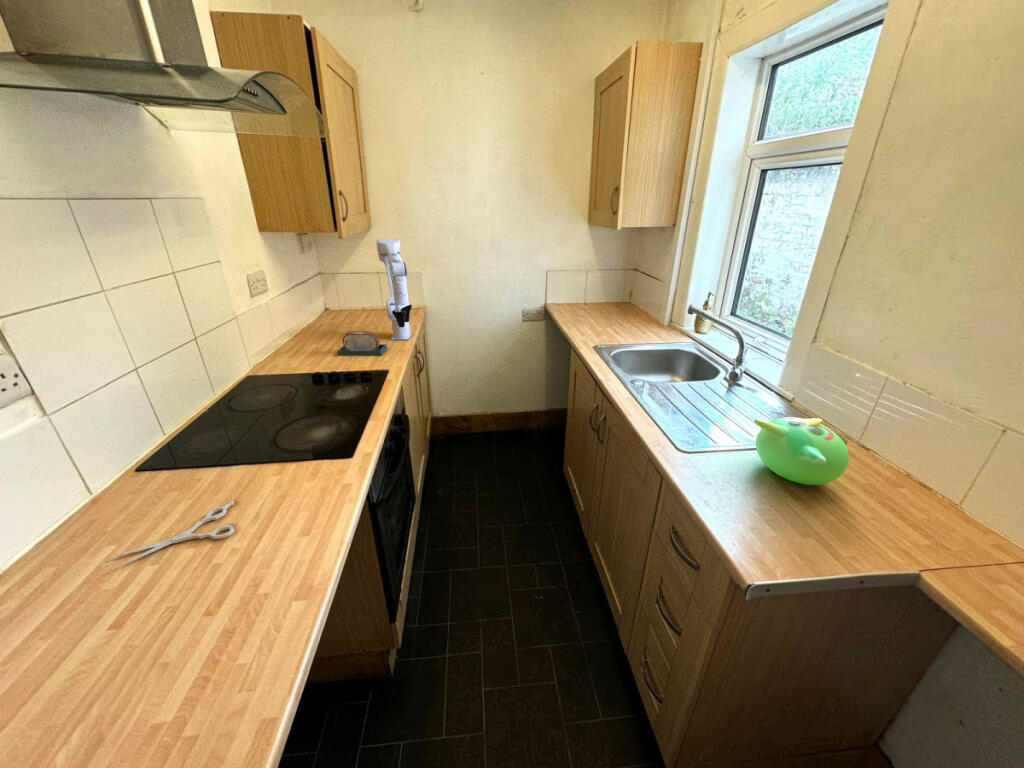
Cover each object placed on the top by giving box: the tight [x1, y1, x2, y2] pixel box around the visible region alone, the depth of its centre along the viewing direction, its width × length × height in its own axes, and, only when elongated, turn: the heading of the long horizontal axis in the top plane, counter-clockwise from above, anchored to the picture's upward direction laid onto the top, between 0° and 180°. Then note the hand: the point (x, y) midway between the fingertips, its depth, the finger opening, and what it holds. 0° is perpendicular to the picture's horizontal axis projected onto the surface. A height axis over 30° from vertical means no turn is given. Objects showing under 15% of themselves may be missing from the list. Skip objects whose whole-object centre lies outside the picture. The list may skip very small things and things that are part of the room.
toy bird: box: [753, 416, 850, 486], centre depth 95 cm, size 18×17×15 cm
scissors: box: [111, 499, 235, 570], centre depth 80 cm, size 11×1×20 cm
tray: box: [337, 343, 388, 357], centre depth 175 cm, size 8×18×2 cm, turn 89°
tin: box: [342, 330, 381, 351], centre depth 173 cm, size 15×3×8 cm, turn 89°
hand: (404, 324), depth 176 cm, fingers open, 7 cm apart
